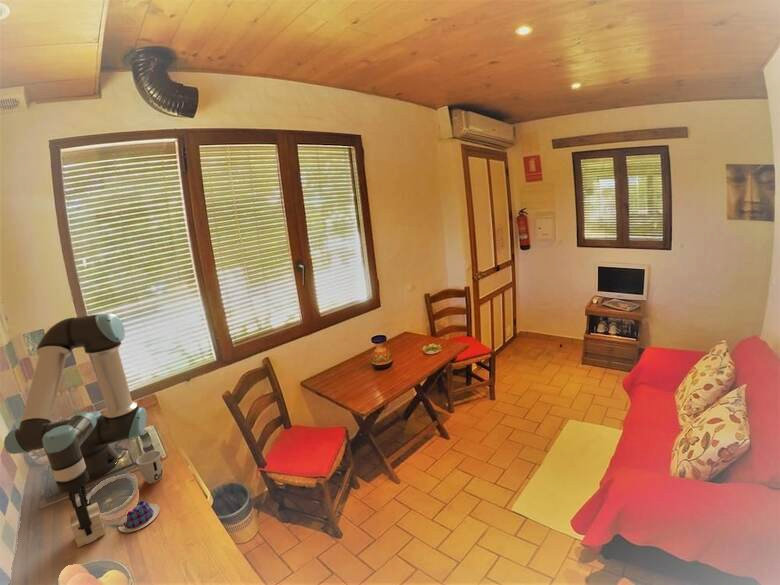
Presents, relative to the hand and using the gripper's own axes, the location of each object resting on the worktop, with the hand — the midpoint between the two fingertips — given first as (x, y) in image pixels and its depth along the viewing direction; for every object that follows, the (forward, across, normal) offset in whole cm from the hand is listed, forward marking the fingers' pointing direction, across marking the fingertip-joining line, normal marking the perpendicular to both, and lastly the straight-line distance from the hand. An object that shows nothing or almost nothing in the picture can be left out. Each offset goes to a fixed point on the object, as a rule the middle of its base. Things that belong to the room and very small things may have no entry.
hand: (90, 533), depth 123 cm
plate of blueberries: (+1, +4, +13) cm, 14 cm away
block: (0, 0, 0) cm, 0 cm away
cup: (+1, -15, +21) cm, 26 cm away
